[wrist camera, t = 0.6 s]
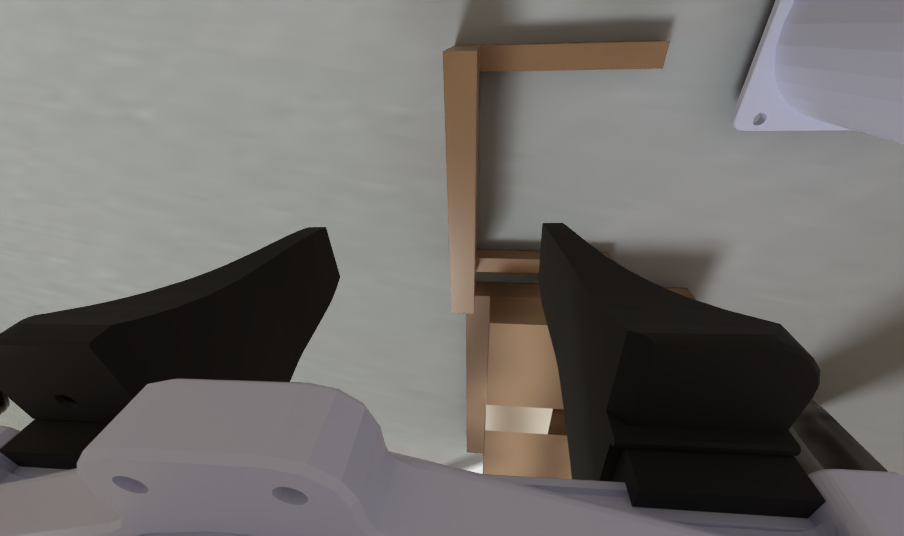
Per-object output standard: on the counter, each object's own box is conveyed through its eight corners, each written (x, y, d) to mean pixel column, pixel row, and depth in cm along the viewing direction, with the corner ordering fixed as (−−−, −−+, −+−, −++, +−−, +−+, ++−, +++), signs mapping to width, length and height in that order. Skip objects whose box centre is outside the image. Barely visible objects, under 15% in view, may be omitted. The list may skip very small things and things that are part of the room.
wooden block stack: (687, 288, 23) (735, 352, 18) (621, 447, 33) (642, 514, 28) (467, 281, 24) (462, 340, 20) (467, 436, 34) (464, 499, 30)
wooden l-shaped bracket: (660, 40, 16) (720, 44, 12) (604, 266, 23) (630, 319, 19) (454, 45, 17) (442, 51, 13) (458, 262, 23) (451, 312, 19)
